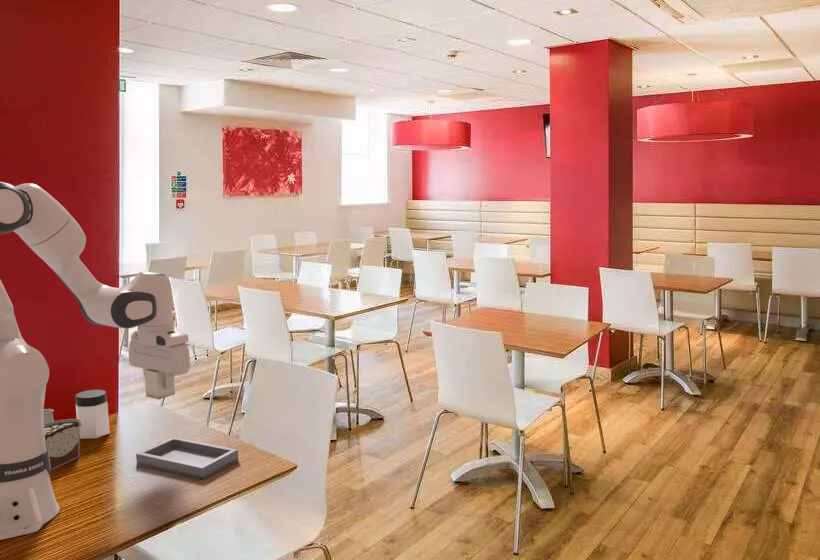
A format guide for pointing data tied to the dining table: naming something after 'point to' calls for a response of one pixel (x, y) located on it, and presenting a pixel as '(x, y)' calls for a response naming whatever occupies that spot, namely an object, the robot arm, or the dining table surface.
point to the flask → (48, 416)
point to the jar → (92, 413)
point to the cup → (156, 385)
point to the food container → (62, 441)
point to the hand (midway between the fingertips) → (159, 386)
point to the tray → (187, 458)
